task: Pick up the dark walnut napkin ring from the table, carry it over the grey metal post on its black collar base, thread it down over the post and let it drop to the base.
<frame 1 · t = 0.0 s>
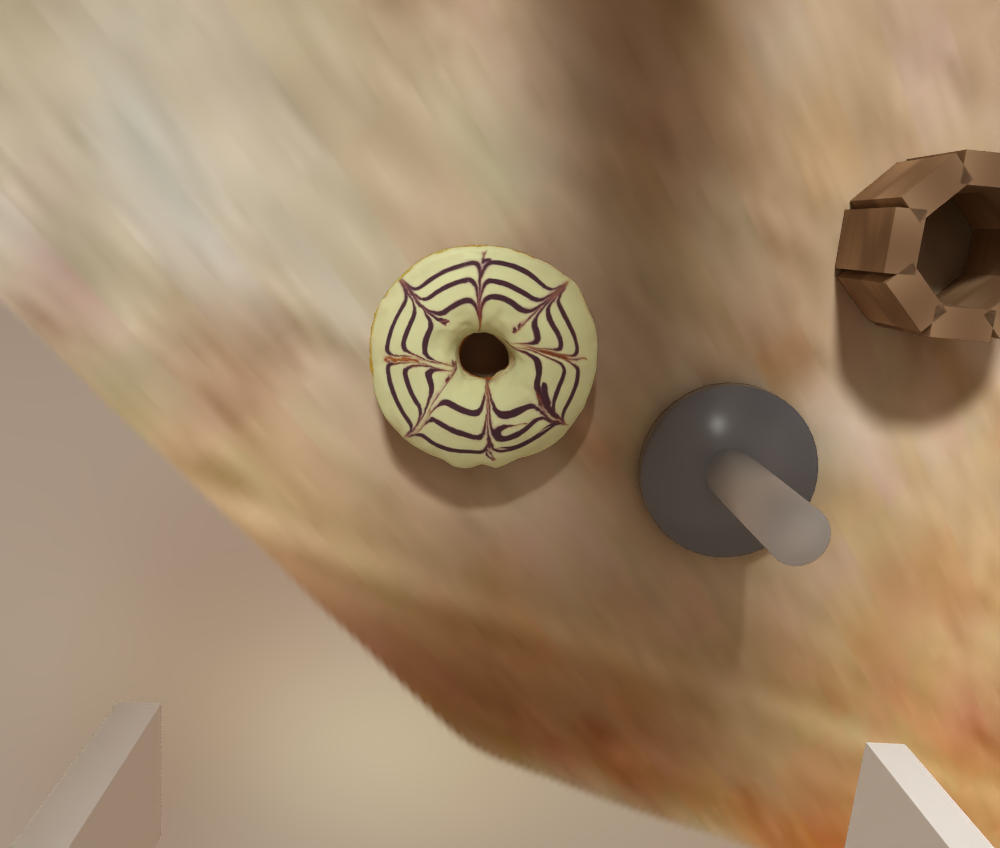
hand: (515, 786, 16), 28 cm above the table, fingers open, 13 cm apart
post: (724, 468, 44), on the table
ring: (918, 246, 42), on the table
decorated donut: (482, 351, 42), on the table
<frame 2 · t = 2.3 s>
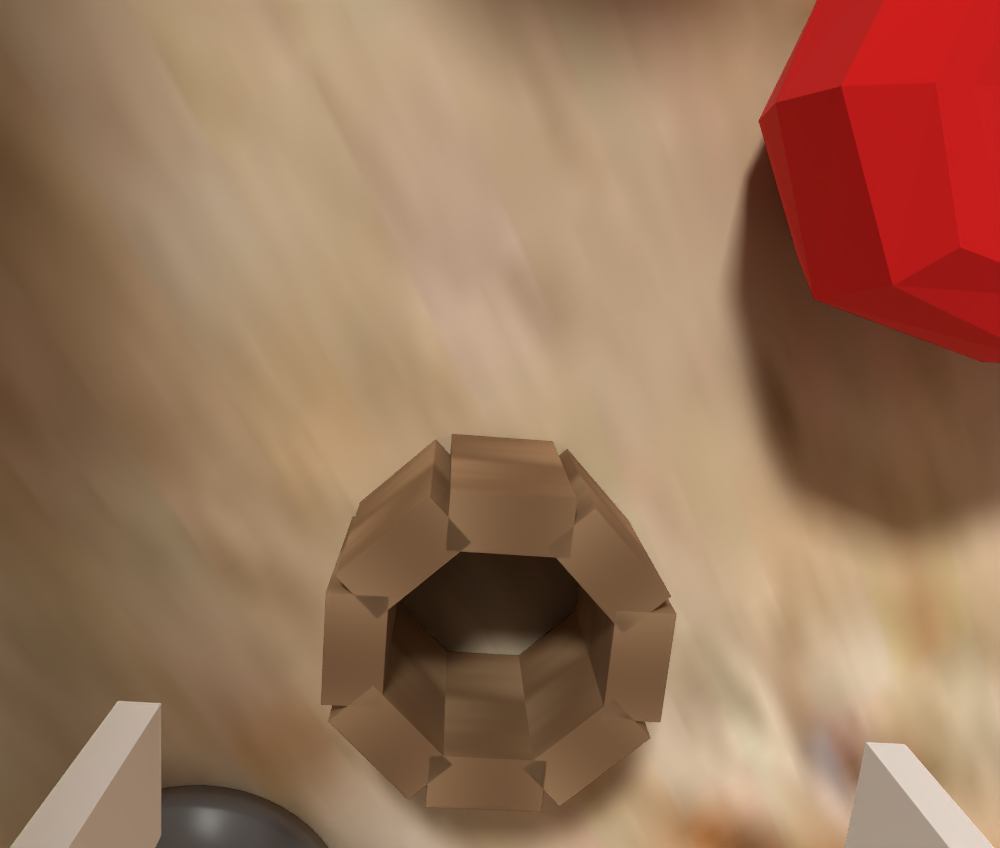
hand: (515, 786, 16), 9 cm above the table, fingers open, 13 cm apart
apple: (910, 133, 22), on the table
ring: (490, 571, 24), on the table
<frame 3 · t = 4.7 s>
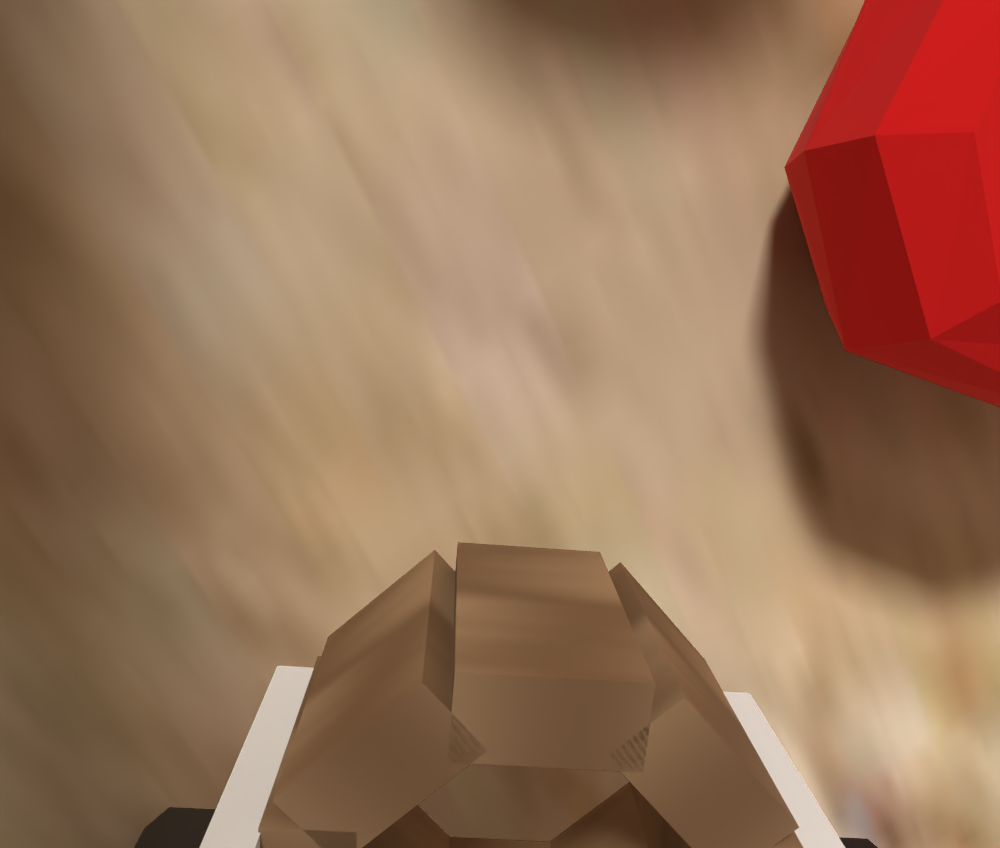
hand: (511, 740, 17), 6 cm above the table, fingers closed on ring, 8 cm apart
apple: (939, 179, 22), on the table
ring: (510, 730, 17), point 6 cm above the table, touching gripper
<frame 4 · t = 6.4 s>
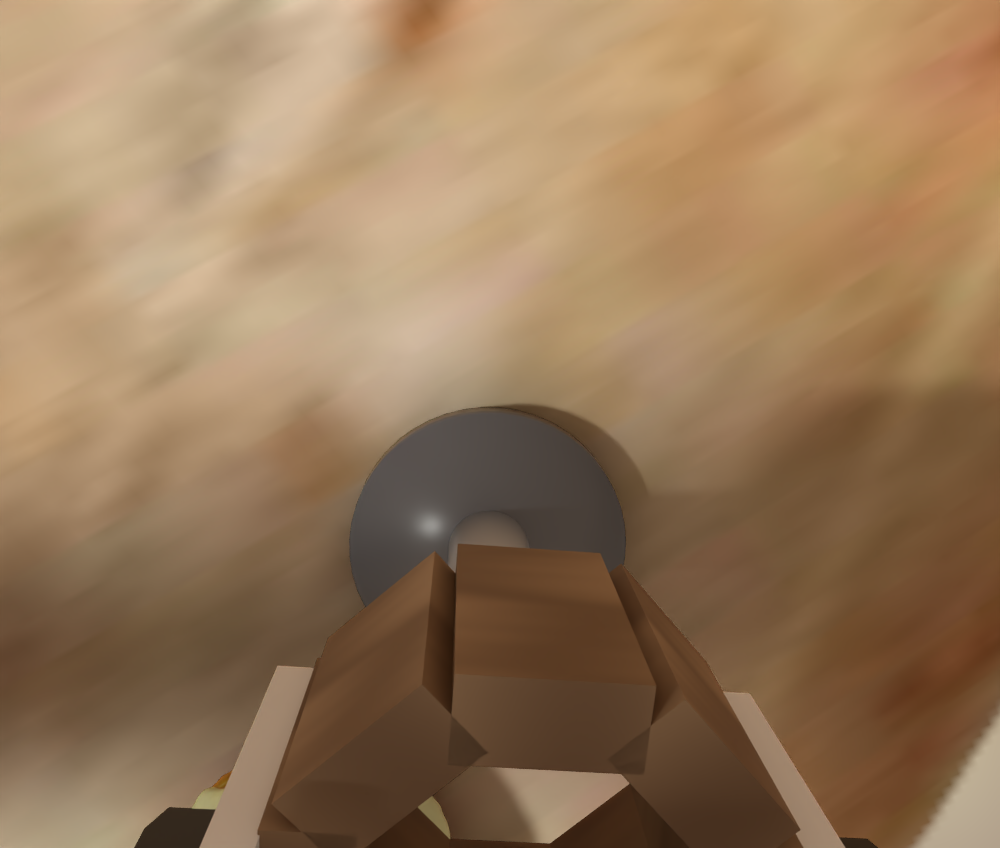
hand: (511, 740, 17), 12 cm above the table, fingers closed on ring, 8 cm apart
post: (487, 538, 29), on the table
ring: (511, 731, 17), point 11 cm above the table, touching gripper
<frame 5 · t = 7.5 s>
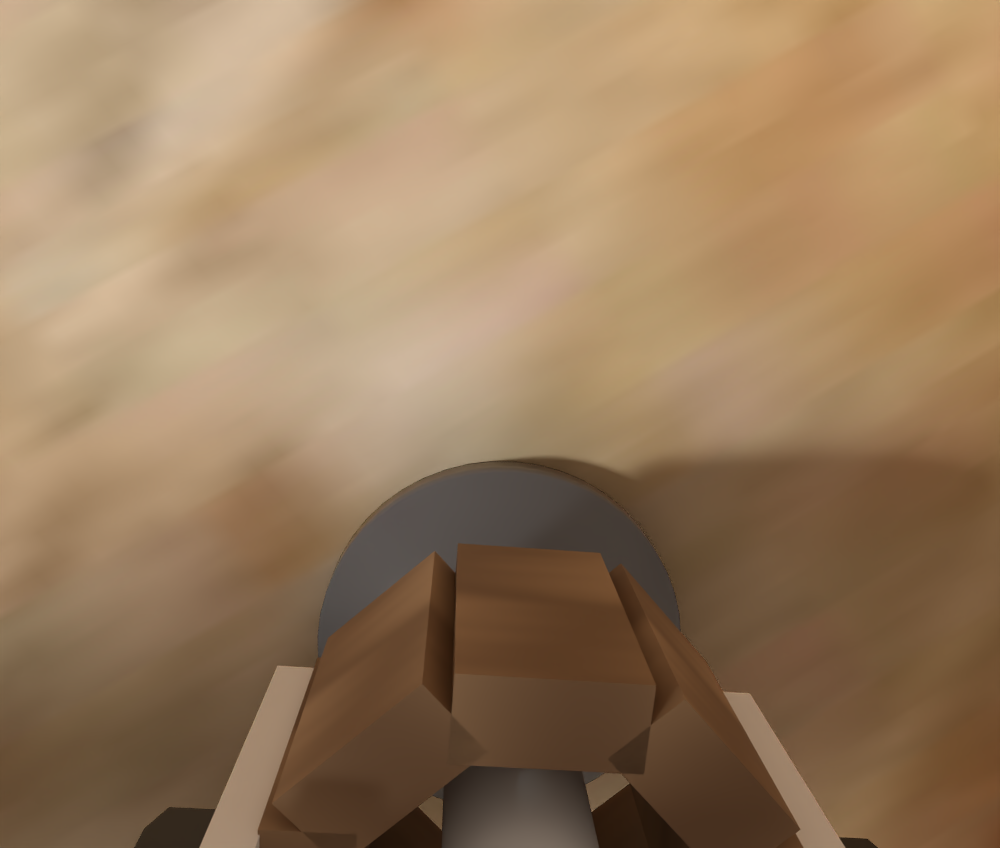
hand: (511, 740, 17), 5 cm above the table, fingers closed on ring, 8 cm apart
post: (499, 628, 22), on the table
ring: (511, 731, 17), point 5 cm above the table, touching gripper
when the fingers open (5 cm above the table, at t = 8.3 s): ring drops 3 cm, resting on post.
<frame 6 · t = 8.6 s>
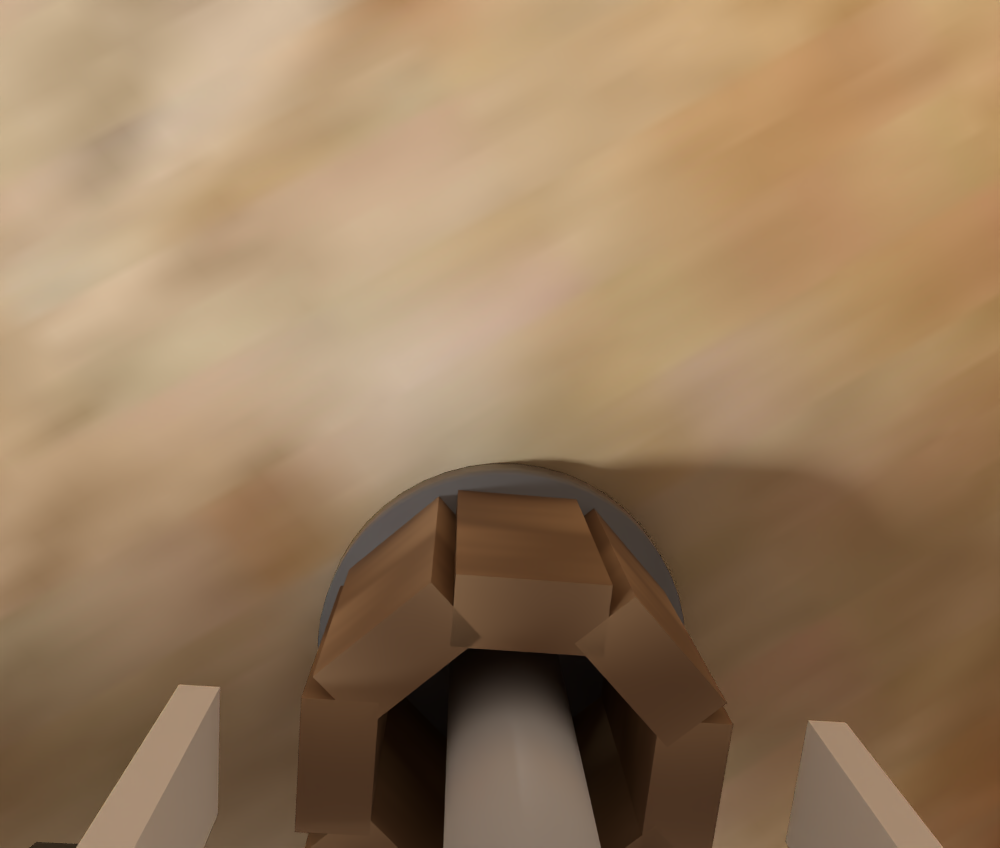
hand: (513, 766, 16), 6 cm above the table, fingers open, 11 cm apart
post: (501, 632, 22), on the table
ring: (501, 650, 21), point 1 cm above the table, touching post
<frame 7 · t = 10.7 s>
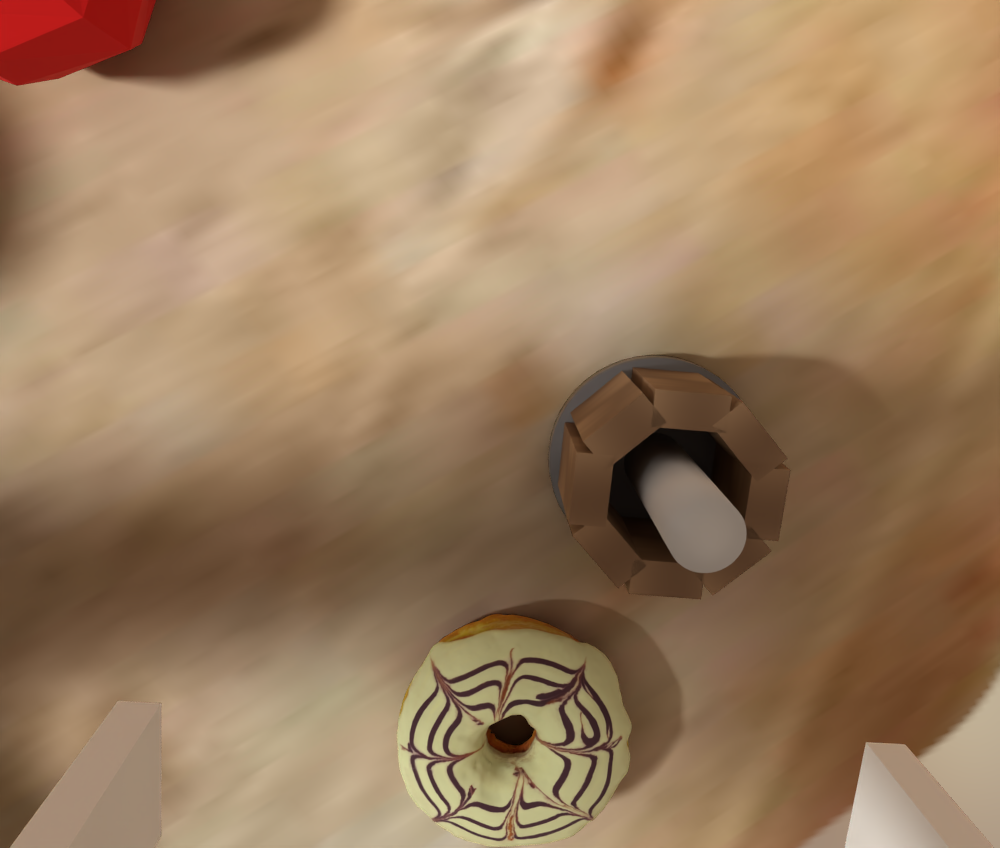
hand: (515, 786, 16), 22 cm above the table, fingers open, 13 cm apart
post: (649, 455, 37), on the table
ring: (653, 461, 37), point 1 cm above the table, touching post
decorated donut: (511, 706, 41), on the table
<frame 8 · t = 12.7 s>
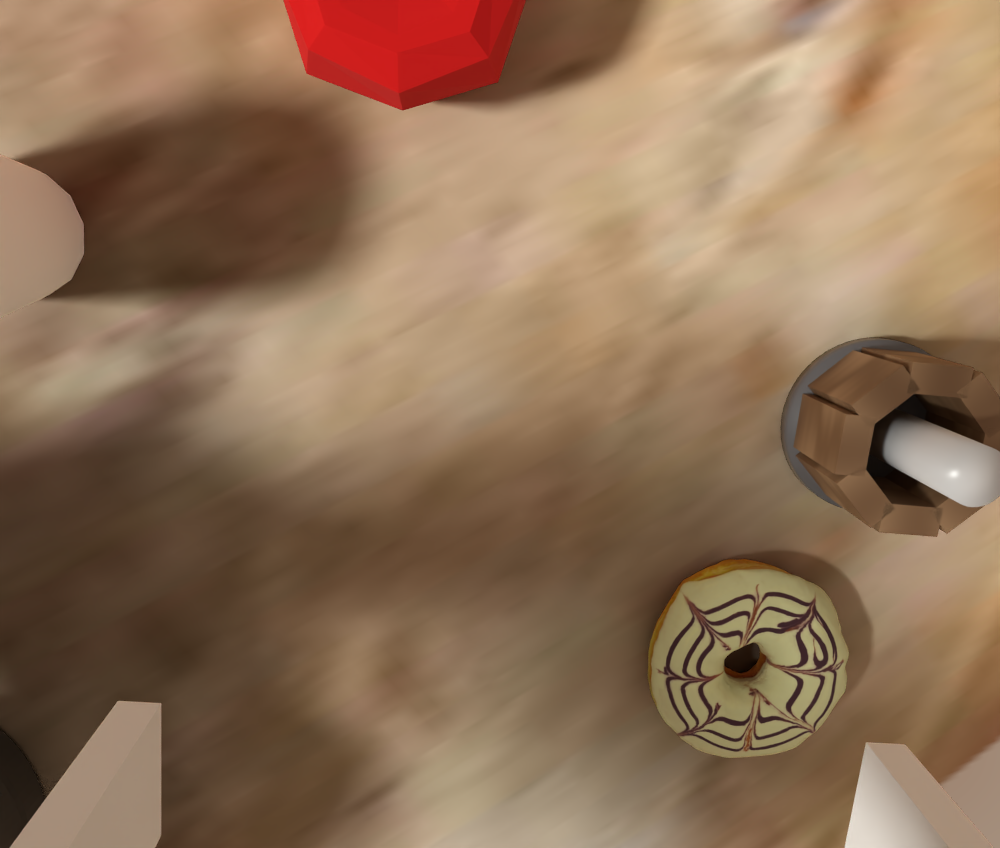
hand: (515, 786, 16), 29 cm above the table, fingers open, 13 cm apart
foam cup: (19, 232, 41), on the table
post: (865, 423, 44), on the table
apple: (410, 3, 39), on the table
ring: (873, 426, 43), point 1 cm above the table, touching post
decorated donut: (732, 640, 47), on the table
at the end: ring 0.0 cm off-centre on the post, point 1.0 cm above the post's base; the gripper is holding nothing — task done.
